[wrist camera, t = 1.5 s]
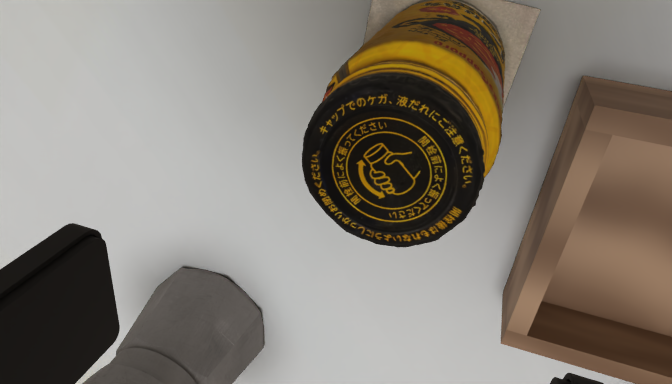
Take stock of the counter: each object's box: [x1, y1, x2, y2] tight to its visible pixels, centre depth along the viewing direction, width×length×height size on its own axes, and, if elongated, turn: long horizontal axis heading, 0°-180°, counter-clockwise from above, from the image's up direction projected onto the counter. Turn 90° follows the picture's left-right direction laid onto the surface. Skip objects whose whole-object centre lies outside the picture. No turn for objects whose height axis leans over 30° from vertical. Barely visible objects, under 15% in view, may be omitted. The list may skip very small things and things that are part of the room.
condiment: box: [302, 0, 541, 247], centre depth 19 cm, size 7×8×12 cm
